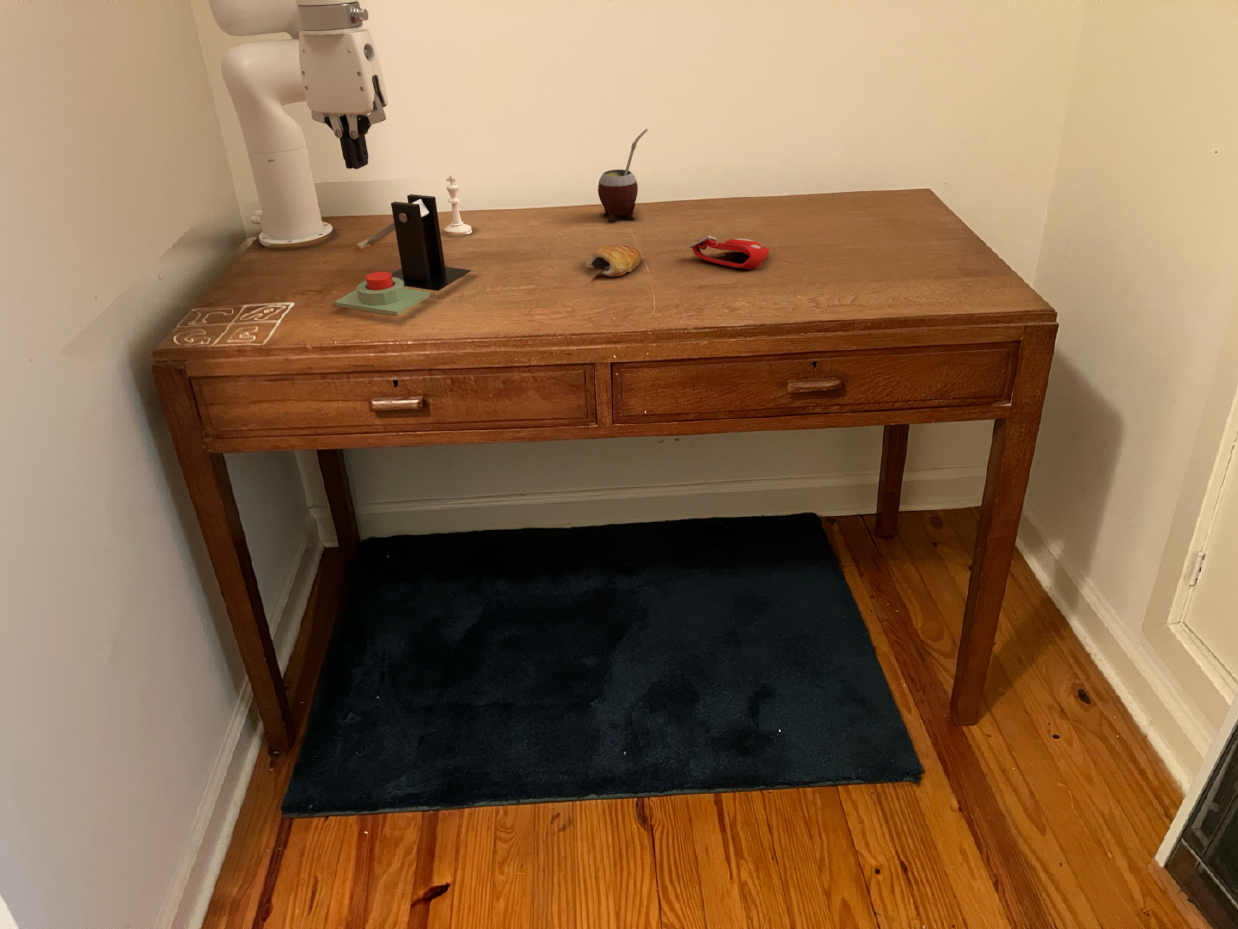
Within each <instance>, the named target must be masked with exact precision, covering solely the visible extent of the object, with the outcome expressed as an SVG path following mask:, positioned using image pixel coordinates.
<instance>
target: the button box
mask: <svg viewBox="0 0 1238 929" xmlns="http://www.w3.org/2000/svg"><path fill="white" fill-rule="evenodd" d="M392 281H393V287H391V288H388V289H384V290H368V287H367V282H366V280H364V281H362V282H360V283H358V284H357V286H356V289H355V290H353V291H350V292H349V293H348V294H346V295H344V296H342V297H340V298H339V299H336V300H335V301H334V302H333V303H334V306H335V307H338V308H343V309H352V310H357V311H363V312H364V311H365V312H370V313H376V314H381V315H387V316H394V317H399V316H400V315H402V314H404V313H406V312H407V311H408V310H410V309H413V307H415V306H417V305H418V304H420V303H421V302H423V301H425V300H426V299H428V298H430V297H431V291H428V290H427V291H426V290H420V289H414V288H408V287H406V286H404V281H402V280H401V279H399V278H395V277H392Z"/></svg>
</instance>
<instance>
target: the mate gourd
mask: <svg viewBox="0 0 1238 929" xmlns="http://www.w3.org/2000/svg"><path fill="white" fill-rule="evenodd" d="M647 132H648V128H645V129H644V130H643V131H642V132H641V133H640V134H639V135H637V137H636V138H635V139H634V141H633V142H632V143H631V147H630V153H629V156H628V160H627V164H626V167H625V169H619V168H618V169H610V170H606V171H604V172H602V175H601V176H600V178H599V180H598V186H597V193H598V198H599V201H600V203H601V205H602V206H603V209H604V213H603V217H606V218H609V219H607V221H608V224H613V223H614V222H617V221H619V220H626V221H630V222H631V221H634V220H635V216H634V212H635V207H636V201H637V198H638V192H639V186H638V182H637V181H638V180H637V178H636V176H635V175H634V173H633V172H632V171H631V170H630V167H631V162H632V159H633V155H634V152H635V150H636V148H637V144H638V142H639V141H640V140H641V138H642V137H643V136H644V135H645V134H646V133H647Z"/></svg>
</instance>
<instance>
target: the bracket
mask: <svg viewBox="0 0 1238 929" xmlns="http://www.w3.org/2000/svg"><path fill="white" fill-rule="evenodd" d="M406 198H407V202H403V201H393V202H390V208H391V212H392V213H391V214H392V219H393V222H394V225H395V231H394V232H395V236H396V242H397V248H398V255H399V260H400V266H401V268H399V269H397V270H396V271H393V272H392V273H391V275H392V277H395V278H399V279H401V280H402V281H404V286H405V287H406V288H413V289H414V288H416V289H422V290H427V291H428V290H429V291H435V292H439V291H441V290H442V289H444V288H445V287H447V286H449V285H450V284H452V283H454V282H455V281H457V280H458V279H460V278H462V277H464V276H465V275H467V274H468V273H471V272H472V270H471V269H466V268H458V267H450V266H446V263H445V257H444V256H445V255H444V249H443V242H442V234H441V228H440V221H439V214H438V206H437V200H436V196H433V195H424V194H423V195H422V194H413V193H411V194H409V195H406ZM419 199H421V200H422V202H423V203H424V205H425V207H426V208H427V210H428V211H429V214H428V215H426V216H425V217H423V218H421V211H420V205H419V204H413V202H415V201H417V200H419Z"/></svg>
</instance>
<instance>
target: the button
mask: <svg viewBox="0 0 1238 929" xmlns="http://www.w3.org/2000/svg"><path fill="white" fill-rule="evenodd" d="M391 274H392V273H391V272H390V271H374V272H371V273H368V274H366V276H365V281H366V282H367V287H368V290H384V289H388V288H391V287H393V281H392V275H391Z"/></svg>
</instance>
